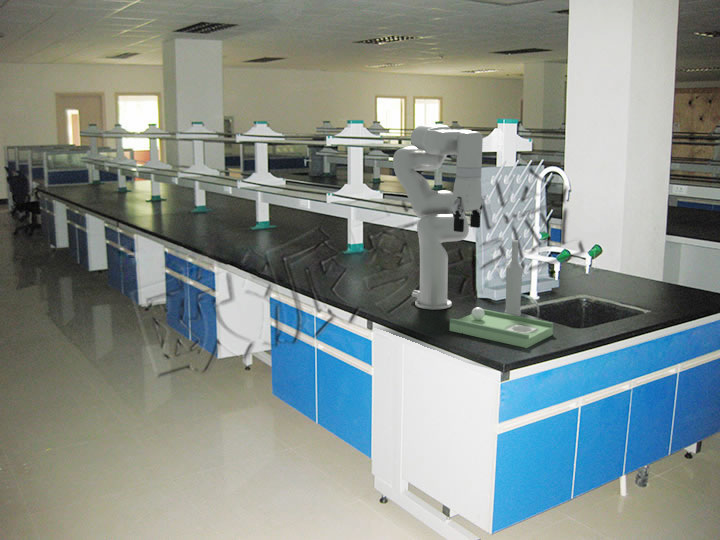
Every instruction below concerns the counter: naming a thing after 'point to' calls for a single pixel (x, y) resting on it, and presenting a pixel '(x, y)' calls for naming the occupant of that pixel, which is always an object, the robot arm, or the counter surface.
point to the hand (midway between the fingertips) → (466, 229)
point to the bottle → (513, 283)
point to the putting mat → (504, 328)
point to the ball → (478, 313)
